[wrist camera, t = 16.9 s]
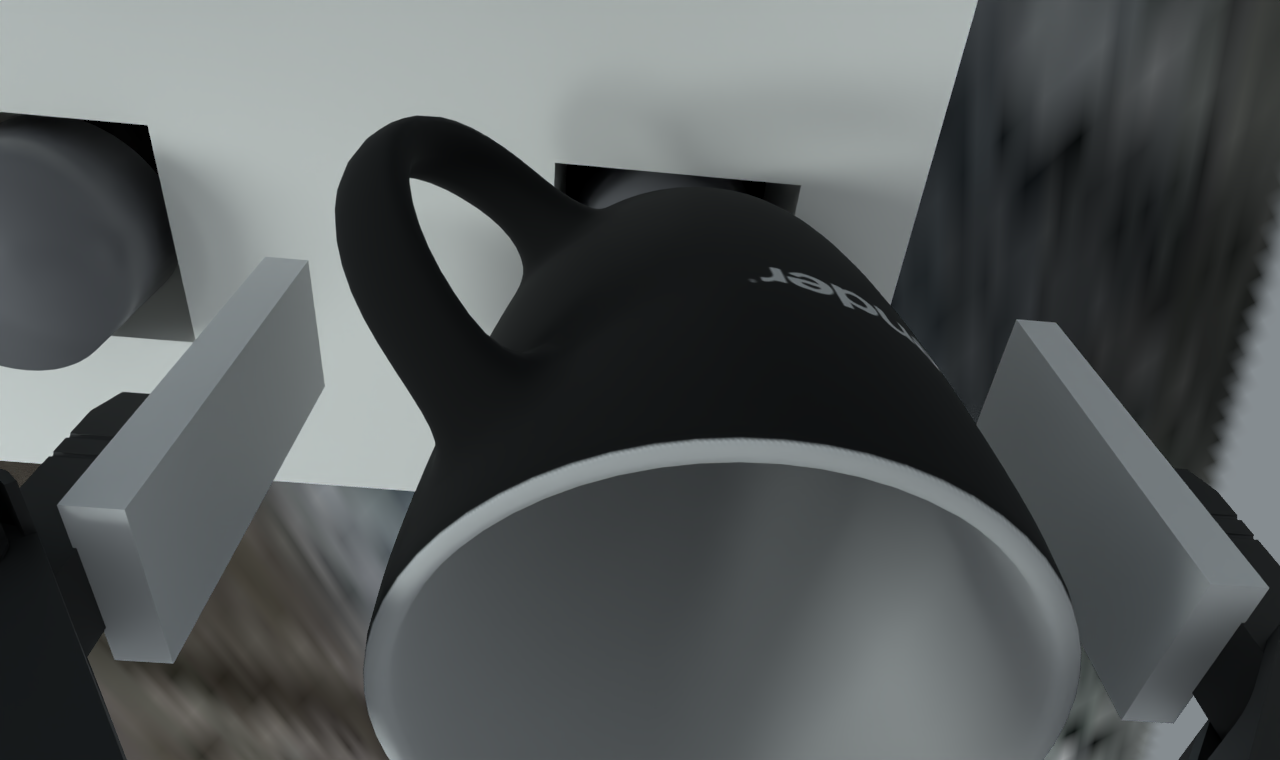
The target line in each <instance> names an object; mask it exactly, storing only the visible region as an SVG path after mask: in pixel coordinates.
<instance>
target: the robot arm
mask: <svg viewBox="0 0 1280 760" xmlns="http://www.w3.org/2000/svg"><path fill="white" fill-rule="evenodd" d="M324 387H325V383H324V375H323V368H322V360H321V353H320V345H319V338H318V330H317V322H316V315H315V307H314V300H313V292H312V285H311V277H310V270H309V262H308V260H298V259H286V258H274V257H264V259H263V260H262V261H261V262H260V263H259V265H258V266H257V267H256V268H255V269H254V271H253V272H252V273H251V274H250V275H249V277H248V278H247V279H246V280H245V281H244V283H243V284H242V285H241V286H240V287H239V288H238V290H237V291H236V292H235V293H234V294H233V296H232V297H231V298H230V299H229V300H228V302H227V303H226V304H225V305H224V306H223V308H222V309H221V310H220V311H219V312H218V314H217V315H216V316H215V317H214V318H213V319H212V321H211V322H210V323H209V324H208V325H207V327H206V328H205V329H204V330H203V331H202V333H201V334H200V335H199V336H198V337H197V339H196V340H195V341H194V342H193V343H192V345H191V346H190V347H189V348H188V349H187V350H186V352H185V353H184V354H183V355H182V356H181V358H180V359H179V360H178V361H177V362H176V364H175V365H174V366H173V367H172V368H171V370H170V371H169V372H168V373H167V374H166V376H165V377H164V378H163V379H162V380H161V382H160V383H159V384H158V385H157V386H156V387H155V389H154V390H153V391H152V392H151V393H150V394H146V393H132V392H121V393H120V394H118V395H116V396H114V397H113V398H111V399H109V400H108V401H106V402H104V403H103V404H101V405H99V406H97V407H96V408H94V409H92V410H91V411H90V412H89V413H88V414H87V415H86V416H85V417H84V418H83V419H82V420H81V422H80V423H79V424H78V425H77V426H76V427H75V428H74V429H73V430H72V431H71V432H70V437H69V438H65V439H64V440H63V441H62V442H61V443H60V444H59V446H58V447H57V448H56V449H55V450H54V451H53V456H49V457H48V458H47V459H46V460H45V461H44V462H43V463H42V464H41V465H40V466H39V467H38V469H37V470H36V471H35V472H34V473H33V474H32V475H31V476H30V477H29V478H28V480H27V481H26V482H25V483H24V484H23V485H22V486H21V487H20V488H19V486H18V483H17V481H16V480H15V479H14V478H13V477H12V475H11V474H10V473H9V472H8V471H6V470H3V469H0V760H127V759H126V757H125V754H124V751H123V749H122V746H121V744H120V741H119V738H118V736H117V733H116V731H115V728H114V725H113V723H112V720H111V718H110V715H109V712H108V710H107V707H106V705H105V702H104V699H103V697H102V694H101V691H100V689H99V686H98V684H97V681H96V678H95V676H94V673H93V671H92V668H91V666H90V663H89V661H88V658H87V656H88V655H89V653H90V652H91V650H92V649H93V647H94V646H95V644H96V643H97V641H98V639H99V638H100V636H101V635H102V633H103V632H104V633H105V635H106V638H107V641H108V643H109V646H110V649H111V651H112V654H113V657H114V659H115V660H125V661H142V662H158V663H174V661H175V660H176V658H177V656H178V654H179V652H180V650H181V649H182V647H183V645H184V643H185V641H186V639H187V638H188V636H189V634H190V632H191V630H192V628H193V627H194V625H195V623H196V621H197V619H198V617H199V616H200V614H201V612H202V610H203V608H204V607H205V605H206V603H207V601H208V599H209V597H210V596H211V594H212V592H213V590H214V588H215V586H216V585H217V583H218V581H219V579H220V577H221V575H222V574H223V572H224V570H225V568H226V566H227V564H228V563H229V561H230V559H231V557H232V555H233V554H234V552H235V550H236V548H237V546H238V544H239V543H240V541H241V539H242V537H243V535H244V533H245V532H246V530H247V528H248V526H249V524H250V522H251V521H252V519H253V517H254V515H255V513H256V511H257V510H258V508H259V506H260V504H261V502H262V501H263V499H264V497H265V495H266V493H267V491H268V490H269V488H270V486H271V484H272V482H273V480H274V479H275V477H276V475H277V473H278V471H279V469H280V468H281V466H282V464H283V462H284V460H285V458H286V457H287V455H288V453H289V451H290V449H291V448H292V446H293V444H294V442H295V440H296V438H297V437H298V435H299V433H300V431H301V429H302V427H303V426H304V424H305V422H306V420H307V418H308V416H309V415H310V413H311V411H312V409H313V407H314V405H315V404H316V402H317V400H318V398H319V396H320V395H321V393H322V391H323V389H324ZM976 425H977V427H978V428H979V430H980V431H981V433H982V434H983V436H984V438H985V439H986V441H987V442H988V444H989V445H990V447H991V448H992V450H993V452H994V453H995V455H996V456H997V458H998V460H999V461H1000V463H1001V464H1002V466H1003V468H1004V469H1005V471H1006V473H1007V474H1008V476H1009V477H1010V479H1011V481H1012V482H1013V484H1014V486H1015V487H1016V489H1017V491H1018V492H1019V494H1020V496H1021V498H1022V499H1023V501H1024V503H1025V504H1026V506H1027V508H1028V510H1029V511H1030V513H1031V515H1032V517H1033V519H1034V521H1035V522H1036V524H1037V526H1038V528H1039V530H1040V532H1041V534H1042V536H1043V538H1044V540H1045V542H1046V544H1047V546H1048V548H1049V550H1050V552H1051V554H1052V556H1053V559H1054V561H1055V563H1056V565H1057V567H1058V569H1059V572H1060V574H1061V576H1062V578H1063V580H1064V582H1065V585H1066V587H1067V589H1068V591H1069V595H1070V598H1071V602H1072V605H1073V609H1074V612H1075V616H1076V620H1077V623H1078V627H1079V634H1080V642H1081V644H1082V646H1083V648H1084V650H1085V652H1086V654H1087V656H1088V658H1089V660H1090V661H1091V663H1092V665H1093V667H1094V669H1095V671H1096V673H1097V675H1098V677H1099V679H1100V680H1101V682H1102V684H1103V686H1104V688H1105V690H1106V692H1107V694H1108V696H1109V698H1110V699H1111V701H1112V703H1113V705H1114V707H1115V709H1116V711H1117V713H1118V715H1119V717H1120V718H1121V720H1127V721H1143V722H1160V723H1174V722H1175V721H1176V719H1177V718H1178V716H1179V715H1180V713H1181V712H1182V710H1183V709H1184V708H1185V707H1186V705H1187V704H1188V702H1189V701H1190V699H1191V698H1192V697H1193V695H1194V697H1195V698H1196V700H1197V702H1198V703H1199V705H1200V706H1201V708H1202V709H1203V711H1204V713H1205V714H1206V716H1207V718H1208V721H1207V722H1206V723H1205V725H1204V726H1203V727H1202V729H1201V730H1200V732H1199V733H1198V734H1197V735H1196V737H1195V738H1194V740H1193V741H1192V742H1191V744H1190V745H1189V746H1188V748H1187V749H1186V750H1185V752H1184V753H1183V754H1182V756H1181V757H1180V758H1179V760H1280V566H1279V564H1278V563H1277V562H1276V561H1275V560H1274V559H1273V557H1272V556H1271V555H1270V554H1269V553H1268V551H1267V550H1266V549H1265V548H1264V547H1263V545H1262V544H1261V543H1260V542H1259V541H1258V540H1254V539H1253V536H1254V535H1253V533H1252V532H1251V531H1250V530H1249V529H1248V528H1247V526H1246V525H1245V524H1244V523H1243V522H1242V520H1237V514H1236V513H1235V512H1234V511H1233V510H1232V509H1231V507H1230V506H1229V505H1228V504H1227V503H1226V501H1225V500H1224V499H1223V498H1222V497H1221V495H1220V494H1219V493H1218V492H1217V491H1216V490H1214V489H1213V488H1212V487H1210V486H1209V485H1208V484H1206V483H1205V482H1203V481H1202V480H1201V479H1199V478H1198V477H1197V476H1195V475H1194V474H1193V473H1191V472H1190V471H1188V470H1186V469H1173V467H1172V466H1171V465H1170V464H1169V462H1168V461H1167V460H1166V459H1165V457H1164V456H1163V455H1162V454H1161V453H1160V451H1159V450H1158V449H1157V448H1156V446H1155V445H1154V444H1153V443H1152V441H1151V440H1150V439H1149V438H1148V436H1147V435H1146V434H1145V433H1144V431H1143V430H1142V429H1141V428H1140V426H1139V425H1138V424H1137V423H1136V421H1135V420H1134V419H1133V418H1132V416H1131V415H1130V414H1129V413H1128V412H1127V410H1126V409H1125V408H1124V407H1123V405H1122V404H1121V403H1120V402H1119V400H1118V399H1117V398H1116V397H1115V395H1114V394H1113V393H1112V392H1111V390H1110V389H1109V388H1108V387H1107V385H1106V384H1105V383H1104V382H1103V380H1102V379H1101V378H1100V377H1099V375H1098V374H1097V373H1096V372H1095V371H1094V369H1093V368H1092V367H1091V366H1090V364H1089V363H1088V362H1087V361H1086V359H1085V358H1084V357H1083V356H1082V354H1081V353H1080V352H1079V351H1078V349H1077V348H1076V347H1075V346H1074V344H1073V343H1072V342H1071V341H1070V339H1069V338H1068V337H1067V336H1066V334H1065V333H1064V332H1063V331H1062V330H1061V328H1060V327H1059V326H1058V325H1057V323H1055V322H1043V321H1031V320H1019V319H1016V322H1015V324H1014V327H1013V329H1012V332H1011V335H1010V337H1009V340H1008V342H1007V345H1006V348H1005V350H1004V353H1003V355H1002V358H1001V361H1000V363H999V366H998V368H997V371H996V374H995V376H994V379H993V382H992V384H991V387H990V389H989V392H988V395H987V397H986V400H985V402H984V405H983V408H982V410H981V413H980V415H979V418H978V421H977V423H976Z"/></svg>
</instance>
